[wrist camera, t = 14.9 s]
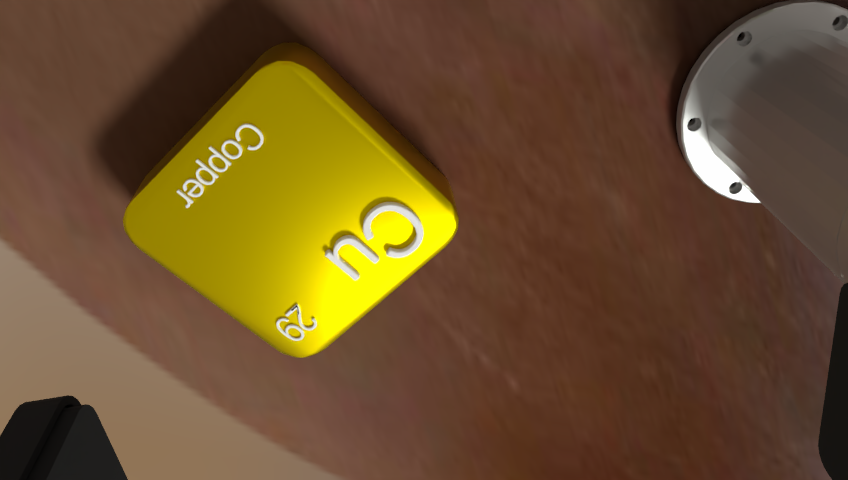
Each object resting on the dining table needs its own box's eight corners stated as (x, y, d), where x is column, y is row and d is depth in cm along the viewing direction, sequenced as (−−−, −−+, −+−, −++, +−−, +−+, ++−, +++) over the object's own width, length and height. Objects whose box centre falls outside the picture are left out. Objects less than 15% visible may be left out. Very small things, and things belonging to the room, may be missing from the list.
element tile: (289, 24, 43) (281, 46, 39) (465, 194, 49) (475, 228, 45) (126, 195, 47) (103, 231, 43) (306, 332, 53) (301, 375, 49)
